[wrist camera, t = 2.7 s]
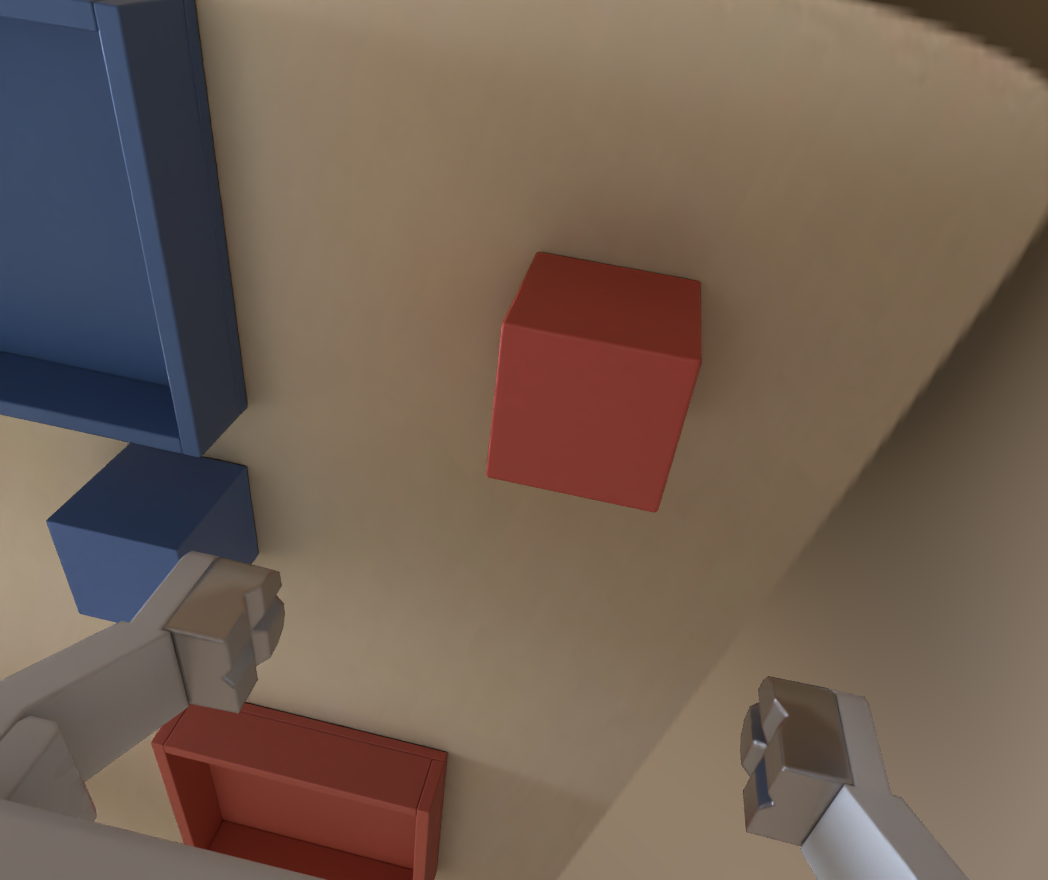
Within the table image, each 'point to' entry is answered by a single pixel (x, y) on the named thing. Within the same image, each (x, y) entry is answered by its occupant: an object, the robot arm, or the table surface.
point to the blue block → (149, 526)
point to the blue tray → (113, 226)
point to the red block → (594, 380)
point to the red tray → (303, 793)
